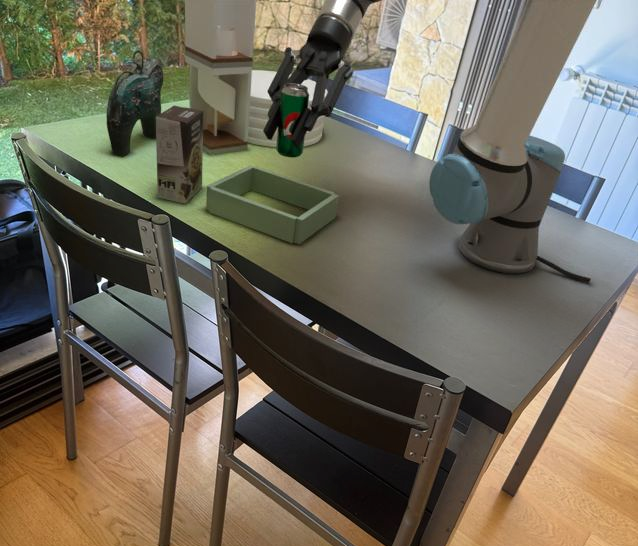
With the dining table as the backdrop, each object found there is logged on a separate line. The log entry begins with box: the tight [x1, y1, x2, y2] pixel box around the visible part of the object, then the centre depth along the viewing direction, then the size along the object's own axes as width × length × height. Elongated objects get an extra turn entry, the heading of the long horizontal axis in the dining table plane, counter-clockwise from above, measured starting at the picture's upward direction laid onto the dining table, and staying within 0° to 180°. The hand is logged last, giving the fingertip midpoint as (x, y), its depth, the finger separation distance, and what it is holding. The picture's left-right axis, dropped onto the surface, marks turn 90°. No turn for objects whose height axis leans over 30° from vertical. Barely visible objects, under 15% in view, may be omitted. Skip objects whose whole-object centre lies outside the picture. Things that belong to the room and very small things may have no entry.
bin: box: [205, 165, 340, 245], centre depth 120 cm, size 21×16×5 cm
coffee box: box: [155, 105, 204, 205], centre depth 119 cm, size 9×6×16 cm
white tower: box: [184, 0, 257, 156], centre depth 138 cm, size 11×11×35 cm
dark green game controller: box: [105, 49, 164, 157], centre depth 136 cm, size 20×6×20 cm, turn 164°
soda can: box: [275, 83, 309, 158], centre depth 109 cm, size 5×5×12 cm
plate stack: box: [247, 69, 328, 148], centre depth 160 cm, size 28×28×12 cm
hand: (280, 139), depth 108 cm, fingers closed on soda can, 5 cm apart
